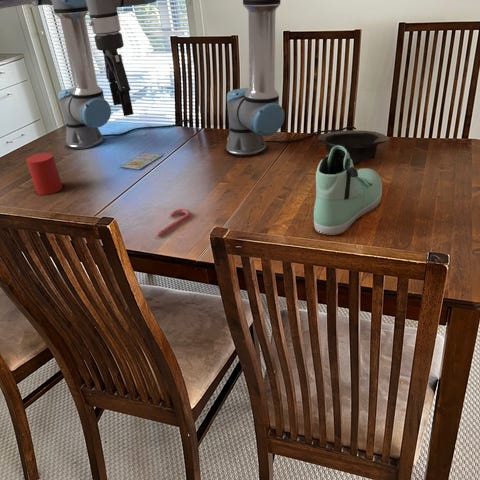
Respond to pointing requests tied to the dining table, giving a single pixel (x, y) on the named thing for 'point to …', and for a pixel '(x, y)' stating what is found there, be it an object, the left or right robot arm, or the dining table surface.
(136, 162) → the baking ingredient package
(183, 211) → the candy cane
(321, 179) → the sneaker
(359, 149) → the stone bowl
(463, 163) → the dining table surface
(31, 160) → the can
